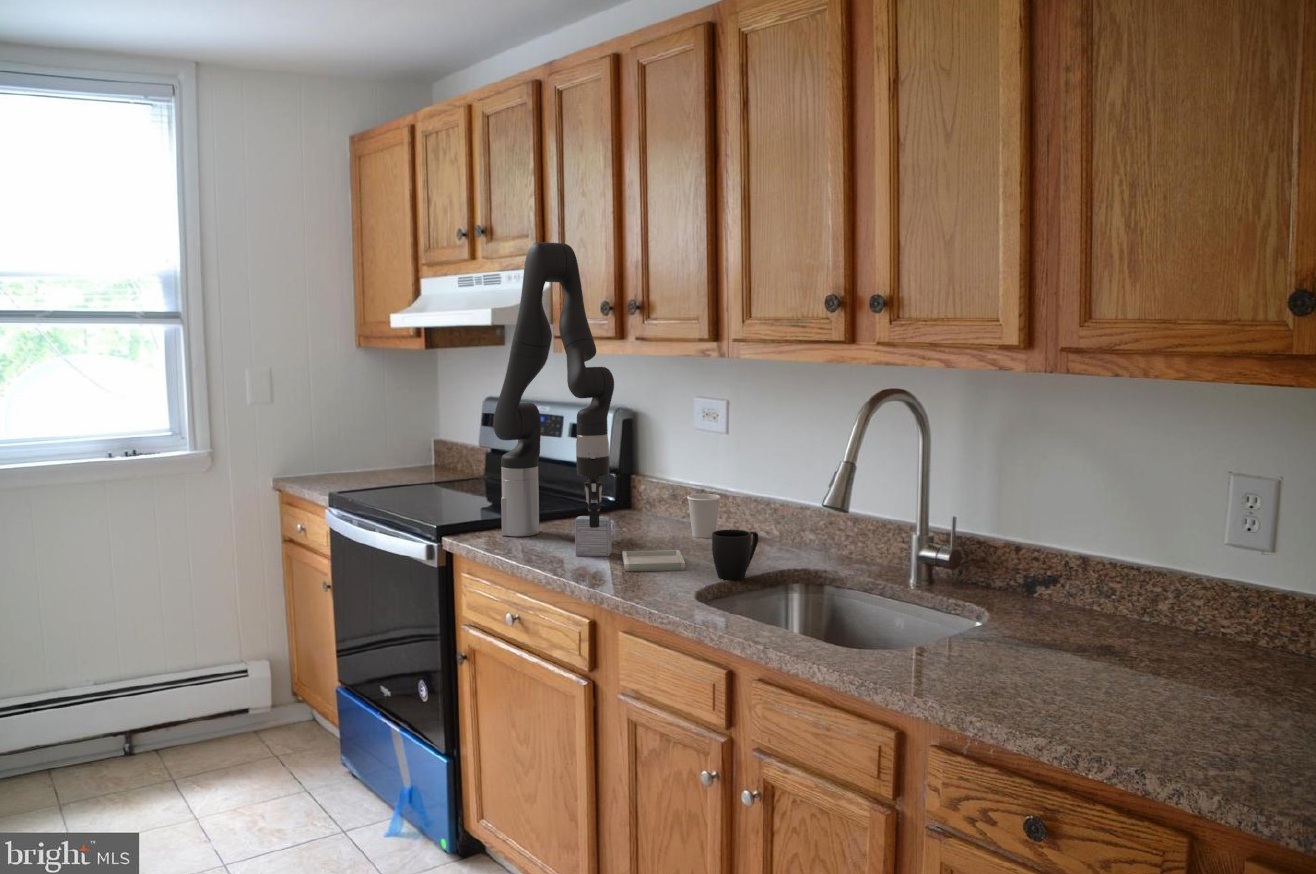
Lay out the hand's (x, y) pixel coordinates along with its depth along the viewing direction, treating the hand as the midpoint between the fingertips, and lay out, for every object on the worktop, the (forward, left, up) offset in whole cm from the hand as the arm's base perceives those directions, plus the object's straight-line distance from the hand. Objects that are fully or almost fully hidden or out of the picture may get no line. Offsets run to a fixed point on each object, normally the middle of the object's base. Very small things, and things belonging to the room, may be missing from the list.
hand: (594, 524), depth 245 cm
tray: (+13, -11, -7) cm, 18 cm away
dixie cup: (+28, +19, -7) cm, 35 cm away
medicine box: (0, 0, -7) cm, 7 cm away
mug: (+30, -24, -7) cm, 39 cm away
